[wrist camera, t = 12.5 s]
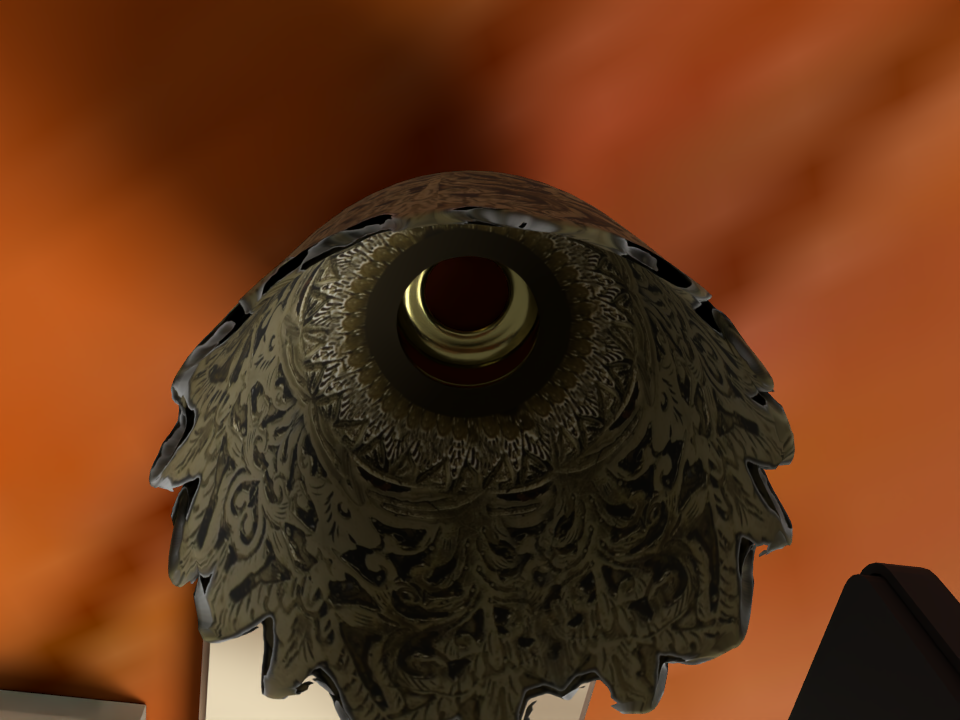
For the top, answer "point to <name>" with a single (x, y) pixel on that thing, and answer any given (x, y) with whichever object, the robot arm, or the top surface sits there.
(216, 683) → the track
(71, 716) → the tray
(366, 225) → the dark bronze flared dome
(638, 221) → the top surface
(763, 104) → the top surface
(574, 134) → the top surface
